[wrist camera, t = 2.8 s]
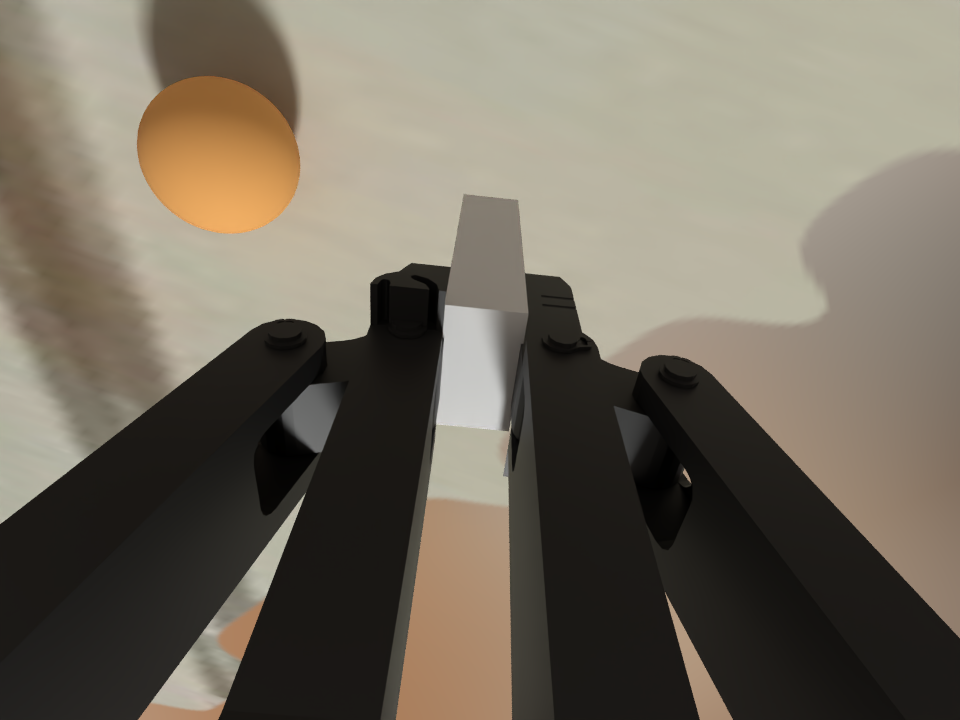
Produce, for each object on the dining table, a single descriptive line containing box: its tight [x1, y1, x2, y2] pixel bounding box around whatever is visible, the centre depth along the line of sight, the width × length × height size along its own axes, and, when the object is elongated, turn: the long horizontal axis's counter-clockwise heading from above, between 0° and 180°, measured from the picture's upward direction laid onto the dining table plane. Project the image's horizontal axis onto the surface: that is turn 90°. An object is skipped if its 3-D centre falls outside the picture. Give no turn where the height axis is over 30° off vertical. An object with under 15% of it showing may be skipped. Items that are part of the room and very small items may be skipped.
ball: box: [137, 76, 300, 233], centre depth 21 cm, size 6×6×6 cm
